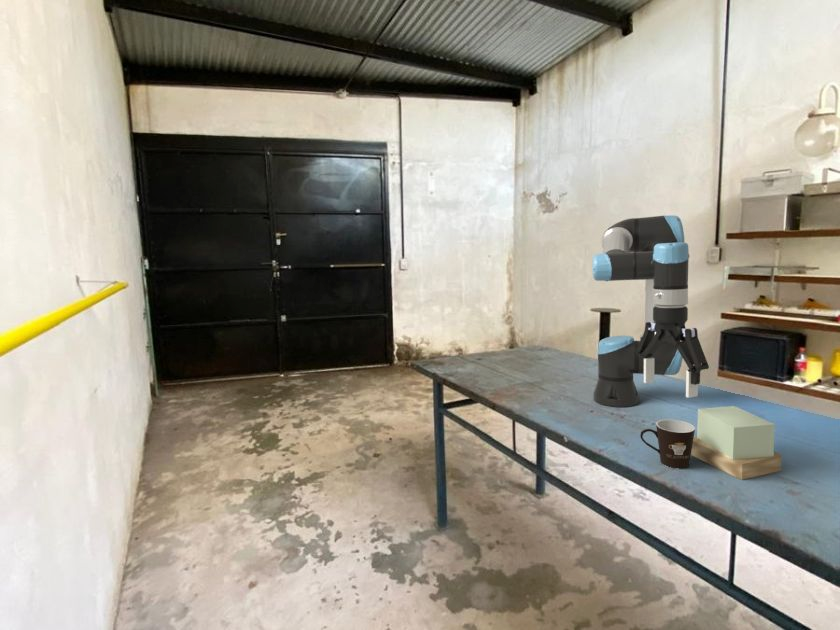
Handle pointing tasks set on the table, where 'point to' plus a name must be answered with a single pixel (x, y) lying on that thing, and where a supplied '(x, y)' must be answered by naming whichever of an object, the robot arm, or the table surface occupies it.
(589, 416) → the table surface
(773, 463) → the oak block
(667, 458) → the coffee mug
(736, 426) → the sage brick
